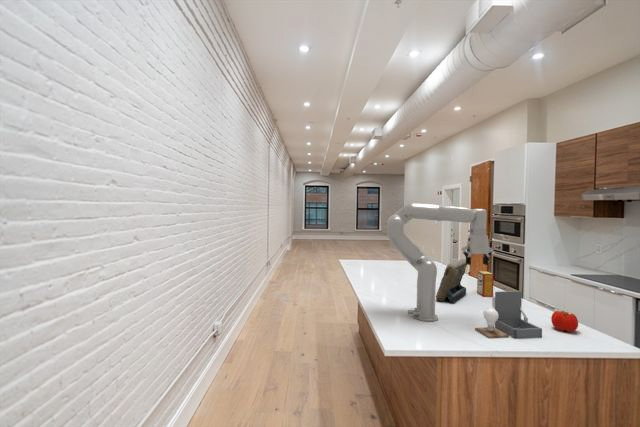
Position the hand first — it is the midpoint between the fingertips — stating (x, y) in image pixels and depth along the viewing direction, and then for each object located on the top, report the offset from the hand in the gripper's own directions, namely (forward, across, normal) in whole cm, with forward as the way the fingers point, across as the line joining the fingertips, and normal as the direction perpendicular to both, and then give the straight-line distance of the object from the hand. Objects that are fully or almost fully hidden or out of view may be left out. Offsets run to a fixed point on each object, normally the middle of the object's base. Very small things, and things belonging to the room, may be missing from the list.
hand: (476, 264), depth 166 cm
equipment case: (+30, +11, -17) cm, 36 cm away
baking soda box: (+30, +38, +47) cm, 68 cm away
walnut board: (+30, -3, -17) cm, 35 cm away
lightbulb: (+29, -3, -17) cm, 34 cm away
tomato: (+30, +37, -16) cm, 50 cm away
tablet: (+30, +11, +42) cm, 53 cm away
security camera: (+30, +19, +8) cm, 36 cm away
